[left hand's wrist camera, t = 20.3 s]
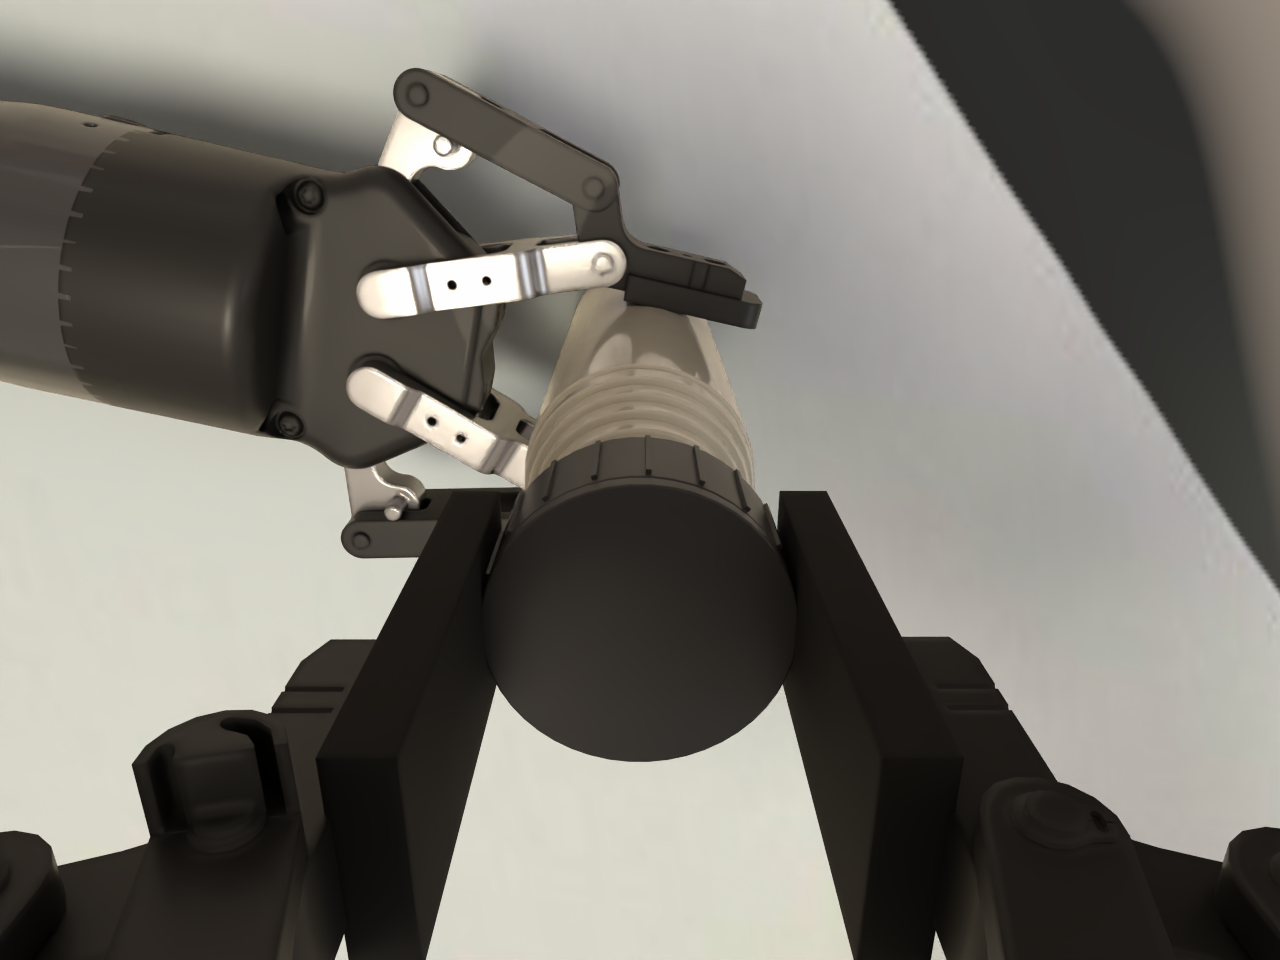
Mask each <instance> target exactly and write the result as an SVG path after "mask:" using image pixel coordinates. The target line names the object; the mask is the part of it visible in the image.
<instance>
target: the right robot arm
mask: <svg viewBox="0 0 1280 960" xmlns="http://www.w3.org/2000/svg"><path fill="white" fill-rule="evenodd" d="M393 95H394V101H395V104H396V106H397V108H398V109H399V110H398V112H397V115H396V118H395V120H394V123H393V126H392V128H391V131H390V134H389V136H388V139H387V142H386V144H385V147H384V150H383V152H382V155H381V158H380V160H379V163H378V165H373V166H365V167H361V168H358V169H356V170H353V171H349V172H335V171H328V170H324V169H319V168H315V167H311V166H307V165H302V164H298V163H294V162H290V161H285V160H281V159H277V158H273V157H268V156H264V155H260V154H256V153H251V152H247V151H243V150H238V149H234V148H230V147H226V146H221V145H217V144H213V143H209V142H204V141H200V140H196V139H192V138H187V137H183V136H179V135H174V134H170V133H166V132H162V131H157V130H152V129H148V128H147V127H146V126H144V125H142V124H140V123H137V122H134V121H131V120H128V119H125V118H121V117H117V116H112V115H105V116H93V115H89V114H84V113H80V112H76V111H71V110H66V109H61V108H56V107H51V106H46V105H40V104H31V103H23V102H11V101H0V381H3V382H7V383H11V384H15V385H19V386H23V387H27V388H32V389H37V390H41V391H46V392H51V393H56V394H61V395H65V396H70V397H75V398H80V399H85V400H89V401H94V402H99V403H104V404H109V405H112V406H117V407H122V408H127V409H131V410H136V411H141V412H146V413H151V414H156V415H161V416H166V417H170V418H175V419H180V420H185V421H189V422H194V423H199V424H204V425H208V426H213V427H218V428H223V429H228V430H232V431H237V432H242V433H247V434H251V435H256V436H263V437H270V438H280V439H289V440H295V441H299V442H301V443H304V444H306V445H308V446H310V447H312V448H314V449H315V450H317V451H318V452H320V453H321V454H323V455H324V456H325V457H326V458H328V459H329V460H330V461H332V462H334V463H335V464H337V465H340V466H342V467H344V468H345V474H346V481H347V487H348V494H349V500H350V507H351V513H352V517H351V520H350V521H349V522H348V524H347V525H346V526H345V528H344V529H343V531H342V534H341V542H342V545H343V547H344V548H345V550H346V551H347V552H348V553H350V554H351V555H353V556H355V557H358V558H407V557H419V556H420V554H421V552H422V550H423V548H424V547H425V545H426V543H427V541H428V539H429V537H430V535H431V533H432V531H433V529H434V527H435V525H436V523H437V521H438V519H439V517H440V516H441V514H442V512H443V510H444V508H445V506H446V504H447V502H448V500H449V498H450V496H451V494H452V492H453V491H500V502H501V518H502V531H504V530H505V527H506V524H507V522H508V519H509V517H510V514H511V512H512V510H513V508H514V505H515V502H516V499H517V496H518V494H519V492H520V491H522V492H523V493H524V491H525V460H526V454H527V447H528V444H529V441H530V438H531V435H532V432H533V429H534V426H535V423H536V419H534V418H532V417H531V416H529V415H528V414H527V413H526V412H525V411H524V409H523V408H522V407H521V406H520V405H519V404H518V403H517V402H515V401H514V400H512V399H510V398H509V397H507V396H505V395H504V394H502V393H500V392H498V391H497V390H495V389H493V388H492V384H493V378H494V372H495V360H494V350H493V339H494V336H495V334H496V332H497V330H498V328H499V326H500V324H501V321H502V319H503V317H504V314H505V308H506V302H512V301H520V300H527V299H532V298H535V297H538V296H541V295H545V294H552V293H560V292H568V291H577V290H585V289H593V288H601V287H608V288H612V289H616V290H621V291H624V300H623V301H627V302H631V303H636V304H640V305H645V306H649V307H655V308H660V309H664V310H667V311H671V312H675V313H680V314H684V315H688V316H693V317H697V318H702V319H706V320H710V321H715V322H719V323H724V324H728V325H732V326H737V327H741V328H747V329H755V328H756V326H757V322H758V318H759V315H760V311H761V308H762V304H763V303H762V302H761V300H760V299H759V298H758V296H757V295H756V294H754V293H751V292H748V291H745V290H744V288H745V284H746V279H745V278H744V277H743V275H742V274H741V273H740V272H739V271H738V270H736V269H735V268H734V267H732V266H731V265H729V264H728V263H727V262H725V261H720V260H716V259H712V258H708V257H703V256H699V255H695V254H690V253H686V252H682V251H678V250H673V249H669V248H665V247H660V246H656V245H652V244H648V243H644V242H641V241H639V240H637V239H635V238H634V237H633V236H632V235H631V234H630V233H629V232H628V231H627V229H626V227H625V224H624V221H623V216H622V208H621V200H620V193H619V186H620V181H619V176H618V173H617V171H616V170H615V168H614V167H613V166H612V165H611V164H609V163H608V162H606V161H604V160H602V159H600V158H598V157H597V156H595V155H593V154H591V153H589V152H587V151H585V150H583V149H582V148H580V147H578V146H576V145H574V144H572V143H570V142H568V141H567V140H565V139H563V138H561V137H559V136H557V135H555V134H554V133H552V132H550V131H548V130H546V129H544V128H542V127H540V126H539V125H537V124H535V123H533V122H531V121H529V120H527V119H526V118H524V117H522V116H520V115H518V114H516V113H514V112H512V111H511V110H509V109H507V108H505V107H503V106H501V105H499V104H497V103H496V102H494V101H492V100H490V99H488V98H486V97H484V96H483V95H481V94H479V93H477V92H475V91H473V90H471V89H469V88H468V87H466V86H464V85H462V84H460V83H458V82H456V81H454V80H453V79H451V78H449V77H447V76H445V75H441V74H438V73H435V72H432V71H428V70H424V69H420V68H412V69H408V70H406V71H404V72H403V73H402V74H400V76H399V77H398V78H397V80H396V82H395V85H394V89H393ZM476 155H479V156H481V157H483V158H485V159H487V160H488V161H490V162H492V163H494V164H496V165H498V166H500V167H502V168H504V169H506V170H508V171H510V172H511V173H513V174H515V175H517V176H519V177H521V178H523V179H525V180H527V181H529V182H531V183H532V184H534V185H536V186H538V187H540V188H542V189H544V190H546V191H548V192H550V193H552V194H554V195H555V196H557V197H559V198H561V199H563V200H565V201H567V202H569V203H571V204H573V209H574V216H575V223H576V230H577V234H571V235H563V236H555V237H534V238H525V239H517V240H509V241H501V242H493V243H485V244H478V243H477V242H476V241H475V240H474V239H473V238H472V237H471V236H470V234H469V233H468V232H467V231H466V230H465V229H464V228H463V227H462V226H461V225H460V224H459V222H458V221H457V220H456V219H455V218H454V217H453V216H452V215H451V214H450V213H449V212H448V210H447V209H446V208H445V207H444V206H443V205H442V204H441V203H440V202H439V201H438V200H437V198H436V197H435V196H434V195H433V194H432V193H431V192H430V191H429V190H428V189H427V188H426V186H425V185H424V184H423V183H422V182H421V181H420V180H419V177H420V175H421V174H422V173H423V171H425V170H426V169H427V168H429V167H431V166H435V167H439V168H442V169H445V170H455V169H460V168H464V167H466V166H468V165H470V164H471V163H472V162H473V160H474V159H475V157H476ZM460 434H463V435H464V436H465V437H463V436H461V435H460ZM427 443H429V444H431V445H433V446H434V447H436V448H438V449H440V450H441V451H443V452H445V453H447V454H448V455H450V456H452V457H454V458H455V459H457V460H459V461H461V462H462V463H464V464H466V465H468V466H469V467H471V468H473V469H475V470H477V471H479V472H481V473H484V474H496V475H499V476H501V477H503V478H504V479H506V480H508V481H510V482H511V483H513V484H515V485H517V486H518V487H511V488H460V489H425V488H424V486H423V484H422V483H421V481H420V480H418V479H417V478H416V477H414V476H411V475H406V474H400V473H397V472H395V471H393V470H392V469H391V468H390V467H389V466H388V465H387V464H386V462H385V461H387V460H389V459H391V458H394V457H396V456H398V455H401V454H403V453H406V452H408V451H410V450H413V449H415V448H418V447H420V446H422V445H425V444H427Z"/></svg>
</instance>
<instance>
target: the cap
mask: <svg viewBox="0 0 1280 960" xmlns="http://www.w3.org/2000/svg"><path fill="white" fill-rule="evenodd" d="M782 548H783V546H782V543H781V541H780V538H779V535H778V532H777V529H776V526H775V523H774V520H773V517H772V514H771V511H770V508H769V506H768V504H767V503H766V504H764V505H763V503H762V501H761V499H760V498H759V496H758V495H757V494H756V493H755V491H754V490H753V489H752V487H751V486H750V485H749V484H748V483H747V482H746V481H745V480H744V479H743V478H742V476H741V473H740V471H739V470H738V469H735V470H733V469H732V468H731V467H729V466H728V465H727V464H725V463H724V462H723V461H721V460H719V459H718V458H716V457H714V456H712V455H711V454H709V453H707V452H705V451H703V450H700V449H699V446H697V445H694V446H690V445H687V444H684V443H680V442H676V441H672V440H667V439H660V438H652V437H651V436H650V435H645V437H628V438H619V439H611V440H607V441H603V442H601V440H598V441H595V444H592V445H589V446H587V447H584V448H581V449H579V450H576V451H574V452H572V453H571V454H569V455H567V456H565V457H563V458H561V459H559V460H558V461H556V459H555V460H553V461H552V462H551V465H550V467H548V468H547V469H546V470H544V471H543V472H542V473H541V474H540V475H539V476H538V477H537V478H536V479H535V480H534V481H533V482H532V483H531V484H530V485H529V486H528V488H527V489H526V490H525V491H524V493H523V492H522V491H520V492H519V494H518V496H517V499H516V502H515V505H514V508H513V510H512V512H511V514H510V517H509V519H508V522H507V524H506V527H505V530H504V531H501V530H500V533H499V536H498V539H497V542H496V545H495V548H494V550H493V553H492V556H491V559H490V562H489V565H488V568H487V571H486V578H487V579H488V580H487V582H486V586H485V590H484V594H483V598H482V613H483V627H484V640H485V653H486V662H487V664H488V667H489V670H490V672H491V675H492V677H493V678H494V680H495V682H496V684H497V686H498V688H499V689H500V691H501V692H502V694H503V695H504V697H505V698H506V699H507V701H508V702H509V703H510V705H511V706H512V707H513V708H514V709H515V710H516V711H517V712H518V713H519V714H520V715H521V716H522V717H523V718H524V719H525V720H526V721H527V722H529V723H530V724H531V725H532V726H533V727H535V728H536V729H537V730H538V731H540V732H542V733H543V734H545V735H546V736H548V737H550V738H551V739H553V740H554V741H556V742H558V743H561V744H563V745H565V746H567V747H569V748H571V749H574V750H577V751H580V752H582V753H585V754H588V755H592V756H596V757H601V758H605V759H610V760H619V761H627V762H651V761H661V760H669V759H674V758H679V757H683V756H687V755H691V754H694V753H697V752H700V751H703V750H706V749H708V748H710V747H712V746H714V745H717V744H719V743H721V742H723V741H725V740H726V739H728V738H730V737H731V736H733V735H734V734H736V733H738V732H739V731H740V730H742V729H743V728H744V727H746V726H747V725H748V724H749V723H751V722H752V721H753V720H754V719H755V718H756V717H757V716H758V715H759V714H760V713H761V712H762V711H763V710H764V709H765V708H766V707H767V706H768V705H769V703H770V702H771V701H772V699H773V698H774V697H775V695H776V694H777V693H778V691H779V689H780V688H781V686H782V684H783V682H784V681H785V679H786V677H787V675H788V672H789V670H790V667H791V665H792V662H793V658H794V646H795V633H796V620H797V598H796V593H795V589H794V586H793V583H792V580H791V577H790V574H789V571H788V568H787V565H786V562H785V559H784V556H783V553H782V550H781V549H782Z"/></svg>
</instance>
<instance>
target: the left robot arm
mask: <svg viewBox="0 0 1280 960" xmlns="http://www.w3.org/2000/svg"><path fill="white" fill-rule="evenodd" d="M500 530H501V531H502V518H501V502H500V491H453V492H452V494H451V496H450V498H449V500H448V502H447V504H446V506H445V508H444V510H443V512H442V514H441V516H440V517H439V519H438V521H437V523H436V525H435V527H434V529H433V531H432V533H431V535H430V537H429V539H428V541H427V543H426V545H425V547H424V548H423V550H422V552H421V554H420V556H419V558H418V560H417V562H416V564H415V566H414V568H413V570H412V572H411V574H410V576H409V578H408V579H407V581H406V583H405V585H404V587H403V589H402V591H401V593H400V595H399V597H398V599H397V601H396V603H395V605H394V607H393V609H392V610H391V612H390V614H389V616H388V618H387V620H386V622H385V624H384V626H383V628H382V630H381V632H380V634H379V636H378V638H377V640H330V641H328V642H327V643H325V644H324V645H323V646H321V647H320V648H319V649H317V650H316V651H315V652H313V653H312V654H311V655H309V656H308V657H307V658H305V659H304V660H302V661H301V663H300V664H299V666H298V667H297V669H296V670H295V672H294V674H293V675H292V677H291V678H290V680H289V681H288V683H287V685H286V686H285V692H281V694H280V696H279V697H278V699H277V700H276V702H275V703H274V705H273V707H272V712H271V713H268V714H265V713H262V712H258V711H254V710H225V711H221V712H216V713H212V714H208V715H203V716H199V717H196V718H193V719H191V720H189V721H186V722H184V723H182V724H180V725H177V726H175V727H173V728H171V729H168V730H167V731H166V732H164V733H163V734H161V735H160V736H159V737H157V738H156V739H155V740H153V741H152V742H150V743H149V744H148V745H146V746H145V747H144V749H143V750H142V751H141V753H140V754H139V755H138V757H137V758H136V759H135V761H134V762H133V763H132V768H133V772H134V775H135V779H136V783H137V787H138V791H139V795H140V798H141V802H142V806H143V810H144V814H145V818H146V821H147V825H148V829H149V833H150V839H149V842H148V843H147V844H144V845H141V846H138V847H134V848H131V849H128V850H124V851H121V852H116V853H112V854H108V855H103V856H99V857H95V858H90V859H86V860H82V861H77V862H73V863H69V864H64V865H60V866H57V863H56V860H55V857H54V854H53V851H52V848H51V846H50V845H49V844H48V843H47V842H46V841H44V840H43V839H42V838H41V837H40V836H39V835H36V834H31V833H25V832H19V831H8V832H0V960H335V957H336V954H337V952H338V949H339V946H340V943H341V941H342V938H343V935H344V934H345V940H346V947H347V953H348V959H349V960H426V956H427V953H428V949H429V945H430V941H431V937H432V933H433V929H434V925H435V921H436V918H437V914H438V910H439V906H440V902H441V898H442V894H443V890H444V887H445V883H446V879H447V875H448V871H449V867H450V863H451V859H452V855H453V852H454V848H455V844H456V840H457V836H458V832H459V828H460V824H461V821H462V817H463V813H464V809H465V805H466V801H467V797H468V793H469V790H470V786H471V782H472V778H473V774H474V770H475V766H476V762H477V758H478V755H479V751H480V747H481V743H482V739H483V735H484V731H485V727H486V724H487V720H488V716H489V712H490V708H491V704H492V700H493V696H494V692H495V689H496V685H497V684H496V682H495V680H494V678H493V677H492V675H491V672H490V670H489V667H488V664H487V662H486V653H485V640H484V627H483V613H482V598H483V594H484V590H485V586H486V582H487V580H488V579H487V578H486V571H487V568H488V565H489V562H490V559H491V556H492V553H493V550H494V548H495V545H496V542H497V539H498V536H499V533H500ZM777 532H778V535H779V538H780V541H781V543H782V546H783V548H782V549H781V550H782V553H783V556H784V559H785V562H786V565H787V568H788V571H789V574H790V577H791V580H792V583H793V586H794V589H795V593H796V598H797V620H796V633H795V646H794V658H793V662H792V665H791V667H790V670H789V672H788V675H787V677H786V679H785V681H784V682H783V687H784V691H785V694H786V698H787V702H788V706H789V710H790V714H791V718H792V722H793V726H794V729H795V733H796V737H797V741H798V745H799V749H800V753H801V757H802V760H803V764H804V768H805V772H806V776H807V780H808V784H809V788H810V792H811V795H812V799H813V803H814V807H815V811H816V815H817V819H818V823H819V826H820V830H821V834H822V838H823V842H824V846H825V850H826V854H827V858H828V861H829V865H830V869H831V873H832V877H833V881H834V885H835V889H836V893H837V896H838V900H839V904H840V908H841V912H842V916H843V920H844V924H845V927H846V931H847V935H848V939H849V943H850V947H851V951H852V955H853V959H854V960H931V955H932V949H933V943H934V937H935V931H936V932H937V935H938V938H939V941H940V943H941V946H942V949H943V951H944V954H945V957H946V960H1280V829H1279V828H1271V827H1262V828H1257V829H1251V830H1246V831H1242V832H1241V833H1240V834H1239V835H1237V836H1236V837H1235V838H1234V839H1233V840H1232V841H1231V842H1230V843H1229V845H1228V848H1227V852H1226V855H1225V858H1224V861H1223V862H1218V861H1214V860H1210V859H1205V858H1201V857H1197V856H1192V855H1188V854H1184V853H1179V852H1175V851H1170V850H1166V849H1162V848H1158V847H1154V846H1151V845H1148V844H1144V843H1141V842H1138V841H1134V840H1132V839H1131V838H1130V835H1129V834H1128V832H1127V831H1126V829H1125V828H1124V826H1123V824H1122V823H1121V821H1120V820H1119V818H1118V817H1117V815H1115V814H1114V813H1113V812H1112V811H1110V810H1109V809H1108V808H1107V807H1106V806H1104V805H1103V804H1102V803H1101V802H1100V801H1098V800H1097V799H1096V798H1094V797H1092V796H1090V795H1088V794H1086V793H1084V792H1082V791H1080V790H1078V789H1076V788H1074V787H1072V786H1070V785H1068V784H1064V783H1060V782H1057V780H1056V779H1055V777H1054V775H1053V774H1052V772H1051V771H1050V769H1049V768H1048V766H1047V765H1046V763H1045V761H1044V760H1043V758H1042V757H1041V755H1040V754H1039V752H1038V750H1037V749H1036V747H1035V746H1034V744H1033V743H1032V741H1031V740H1030V738H1029V736H1028V735H1027V733H1026V732H1025V730H1024V729H1023V727H1022V726H1021V724H1020V722H1019V721H1018V719H1017V718H1016V716H1015V715H1014V713H1013V711H1012V710H1009V709H1008V704H1007V702H1006V701H1005V699H1004V697H1003V696H1002V694H1001V693H1000V691H999V690H998V689H995V683H994V682H993V680H992V679H991V677H990V676H989V674H988V672H987V671H986V669H985V668H984V666H983V665H982V663H981V662H980V660H979V658H977V657H976V656H974V655H973V654H972V653H970V652H969V651H968V650H966V649H965V648H964V647H962V646H961V645H959V644H958V643H957V642H955V641H954V640H953V639H951V638H950V637H901V635H900V633H899V631H898V629H897V627H896V625H895V623H894V621H893V619H892V617H891V615H890V614H889V612H888V610H887V608H886V606H885V604H884V602H883V600H882V598H881V596H880V594H879V592H878V590H877V588H876V586H875V584H874V582H873V581H872V579H871V577H870V575H869V573H868V571H867V569H866V567H865V565H864V563H863V561H862V559H861V557H860V555H859V553H858V551H857V550H856V548H855V546H854V544H853V542H852V540H851V538H850V536H849V534H848V532H847V530H846V528H845V526H844V524H843V522H842V520H841V519H840V517H839V515H838V513H837V511H836V509H835V507H834V505H833V503H832V501H831V499H830V497H829V495H828V493H827V491H780V494H779V510H778V525H777Z"/></svg>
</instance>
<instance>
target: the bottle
mask: <svg viewBox="0 0 1280 960" xmlns="http://www.w3.org/2000/svg"><path fill="white" fill-rule="evenodd" d="M623 300H624V291H621V290H616V289H612V288H608V287H601V288H593V289H587V290H586V292H585V293H584V295H583V296H582V298H581V299H580V301H579V304H578V306H577V308H576V311H575V314H574V316H573V319H572V322H571V325H570V328H569V330H568V333H567V336H566V339H565V342H564V345H563V347H562V350H561V353H560V356H559V359H558V361H557V364H556V367H555V370H554V373H553V375H552V378H551V381H550V384H549V387H548V389H547V392H546V395H545V398H544V401H543V404H542V406H541V409H540V412H539V415H538V418H537V420H536V423H535V426H534V429H533V432H532V435H531V438H530V441H529V444H528V447H527V454H526V460H525V490H526V489H527V488H528V486H529V485H530V484H531V483H532V482H533V481H534V480H535V479H536V478H537V477H538V476H539V475H540V474H541V473H542V472H543V471H544V470H546V469H547V468H548V467H550V465H551V462H552V461H553V460H555V459H556V461H558V460H559V459H561V458H563V457H565V456H567V455H569V454H571V453H572V452H574V451H576V450H579V449H581V448H584V447H587V446H589V445H592V444H595V441H598V440H601V442H603V441H607V440H611V439H619V438H628V437H645V435H650V436H651V437H652V438H660V439H667V440H672V441H676V442H680V443H684V444H687V445H690V446H694V445H697V446H699V449H700V450H703V451H705V452H707V453H709V454H711V455H712V456H714V457H716V458H718V459H719V460H721V461H723V462H724V463H725V464H727V465H728V466H729V467H731V468H732V469H733V470H735V469H738V470H739V471H740V473H741V476H742V478H743V479H744V480H745V481H746V482H747V483H748V484H749V485H750V486H751V487H752V489H753V490H754V488H755V487H754V459H753V453H752V447H751V444H750V441H749V437H748V434H747V431H746V429H745V426H744V423H743V420H742V417H741V415H740V412H739V409H738V406H737V403H736V400H735V398H734V395H733V392H732V389H731V386H730V384H729V381H728V378H727V375H726V372H725V370H724V367H723V364H722V361H721V358H720V356H719V353H718V350H717V347H716V344H715V341H714V339H713V336H712V333H711V330H710V327H709V325H708V322H707V320H706V319H702V318H697V317H693V316H688V315H684V314H680V313H675V312H671V311H667V310H664V309H660V308H655V307H649V306H645V305H640V304H636V303H631V302H627V301H623Z"/></svg>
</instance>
